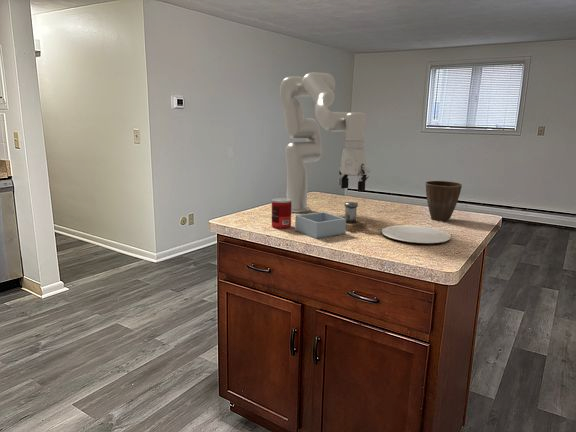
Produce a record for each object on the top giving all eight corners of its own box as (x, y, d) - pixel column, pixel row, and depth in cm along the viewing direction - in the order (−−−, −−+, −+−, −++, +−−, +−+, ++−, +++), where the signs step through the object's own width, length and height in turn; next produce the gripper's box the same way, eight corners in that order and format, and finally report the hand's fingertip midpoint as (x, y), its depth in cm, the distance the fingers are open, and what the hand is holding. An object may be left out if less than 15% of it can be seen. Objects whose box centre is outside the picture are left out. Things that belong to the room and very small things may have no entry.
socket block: (334, 226, 179) (334, 220, 178) (351, 224, 183) (351, 218, 183) (348, 231, 171) (349, 225, 171) (366, 228, 176) (366, 222, 175)
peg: (340, 227, 178) (341, 202, 176) (350, 225, 181) (351, 201, 179) (349, 230, 174) (350, 205, 172) (359, 228, 177) (360, 203, 174)
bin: (295, 230, 171) (295, 215, 170) (323, 226, 178) (323, 211, 177) (316, 239, 160) (316, 222, 159) (345, 234, 167) (346, 218, 166)
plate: (399, 225, 184) (399, 221, 183) (460, 237, 168) (460, 232, 168) (369, 237, 165) (369, 233, 164) (434, 251, 149) (435, 246, 149)
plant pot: (458, 224, 186) (462, 187, 182) (421, 221, 190) (424, 184, 187) (457, 217, 200) (461, 182, 196) (423, 214, 204) (426, 180, 201)
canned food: (293, 225, 180) (294, 198, 177) (287, 229, 172) (287, 202, 170) (275, 223, 182) (276, 197, 180) (268, 227, 175) (268, 200, 172)
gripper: (332, 144, 175) (331, 187, 179) (362, 146, 161) (360, 193, 164) (347, 144, 179) (345, 186, 183) (377, 146, 165) (375, 192, 168)
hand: (352, 189), depth 173 cm, fingers open, 9 cm apart
